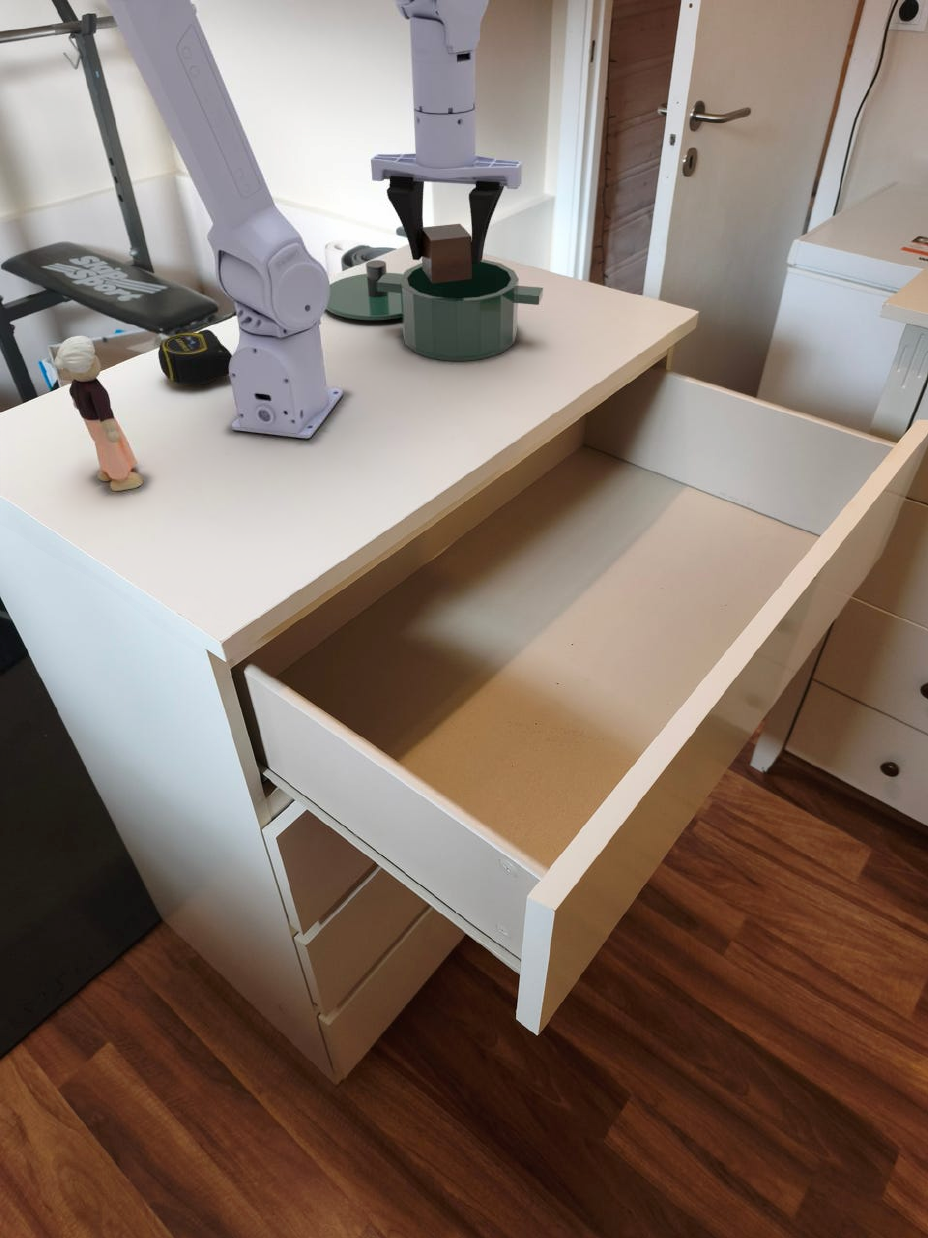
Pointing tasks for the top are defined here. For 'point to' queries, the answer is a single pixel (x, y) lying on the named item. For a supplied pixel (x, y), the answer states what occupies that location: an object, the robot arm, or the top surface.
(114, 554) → the top surface
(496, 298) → the pot
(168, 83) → the robot arm
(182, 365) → the tape measure
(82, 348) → the grandmother figurine
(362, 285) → the pot lid
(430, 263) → the block
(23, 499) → the top surface
